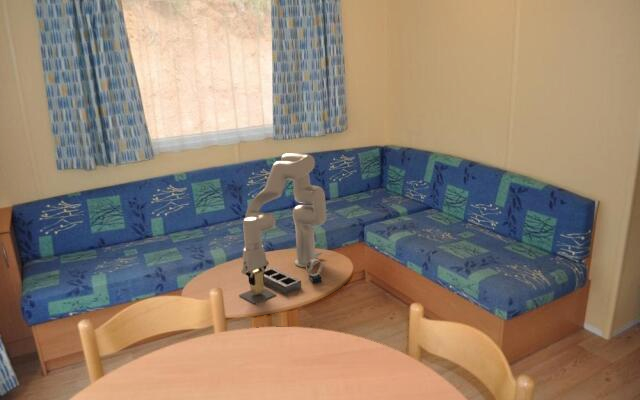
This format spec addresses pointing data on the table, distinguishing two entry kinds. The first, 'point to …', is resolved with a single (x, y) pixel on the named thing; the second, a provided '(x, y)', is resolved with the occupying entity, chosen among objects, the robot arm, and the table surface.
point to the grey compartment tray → (281, 281)
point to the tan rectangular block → (257, 282)
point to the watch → (315, 276)
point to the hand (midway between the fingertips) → (256, 282)
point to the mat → (257, 296)
